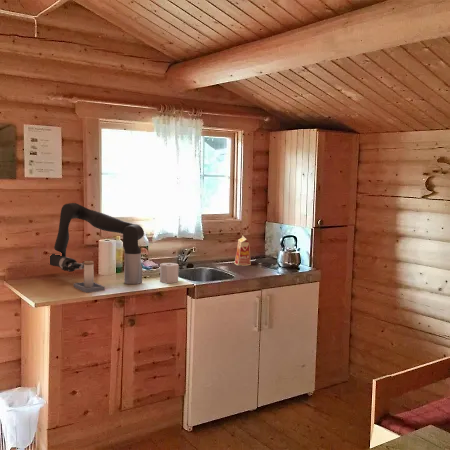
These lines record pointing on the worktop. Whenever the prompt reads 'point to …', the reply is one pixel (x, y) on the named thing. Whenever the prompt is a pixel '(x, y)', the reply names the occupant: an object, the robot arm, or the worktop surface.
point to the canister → (89, 274)
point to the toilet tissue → (169, 272)
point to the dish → (96, 288)
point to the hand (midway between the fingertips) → (80, 268)
